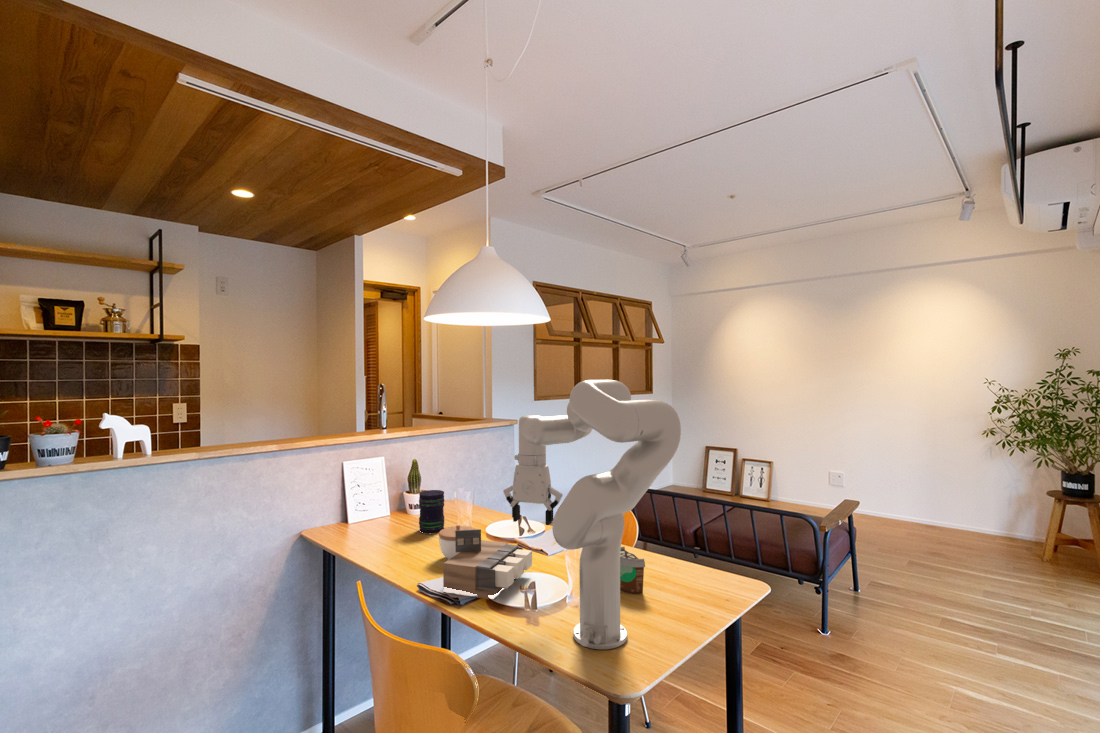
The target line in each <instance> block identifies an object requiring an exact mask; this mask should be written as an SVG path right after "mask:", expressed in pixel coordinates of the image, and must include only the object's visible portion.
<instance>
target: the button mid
mask: <svg viewBox="0 0 1100 733" xmlns="http://www.w3.org/2000/svg"><path fill="white" fill-rule="evenodd" d="M503 561H506V566H514V578H515V580H517V579H519V578H520V577H522V575H523V574H524V572H523V558H517V557H506V558H505V559H504V560H503Z"/></svg>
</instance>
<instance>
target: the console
mask: <svg viewBox="0 0 1100 733" xmlns="http://www.w3.org/2000/svg"><path fill="white" fill-rule="evenodd" d="M475 529H476V530H456V531H455V537H456V552H460V553H458V554H457V555H455V556H454V557H452V558H450V559H449V560H447V559H446V561H445V562H443V564H442V565H443V567H442V568H443V573H442V574H443V580H442V583H443V585H442V586H443V587H447V588H452V589H456V590H462V591H466V592H470V593H473V594H477V595H478V597H477V599H483V600H489V599H488V595H494V594H496V593H498V592H499V591H500V590H501V589H502V588H503V587H496V586H495V569H493V568H494V567H495V566H496V565H506V561H503V560H504V559H505V558H506V557H515V553H513V552H514V551H515V550H516V549H521V550H524V549H523V547H522V546H519V545H518V544H509V543H508V542H501V541H491V540H483V539H482V529H480V528H479V529H477V528H475ZM524 572H525V570H523V573H524Z"/></svg>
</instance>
